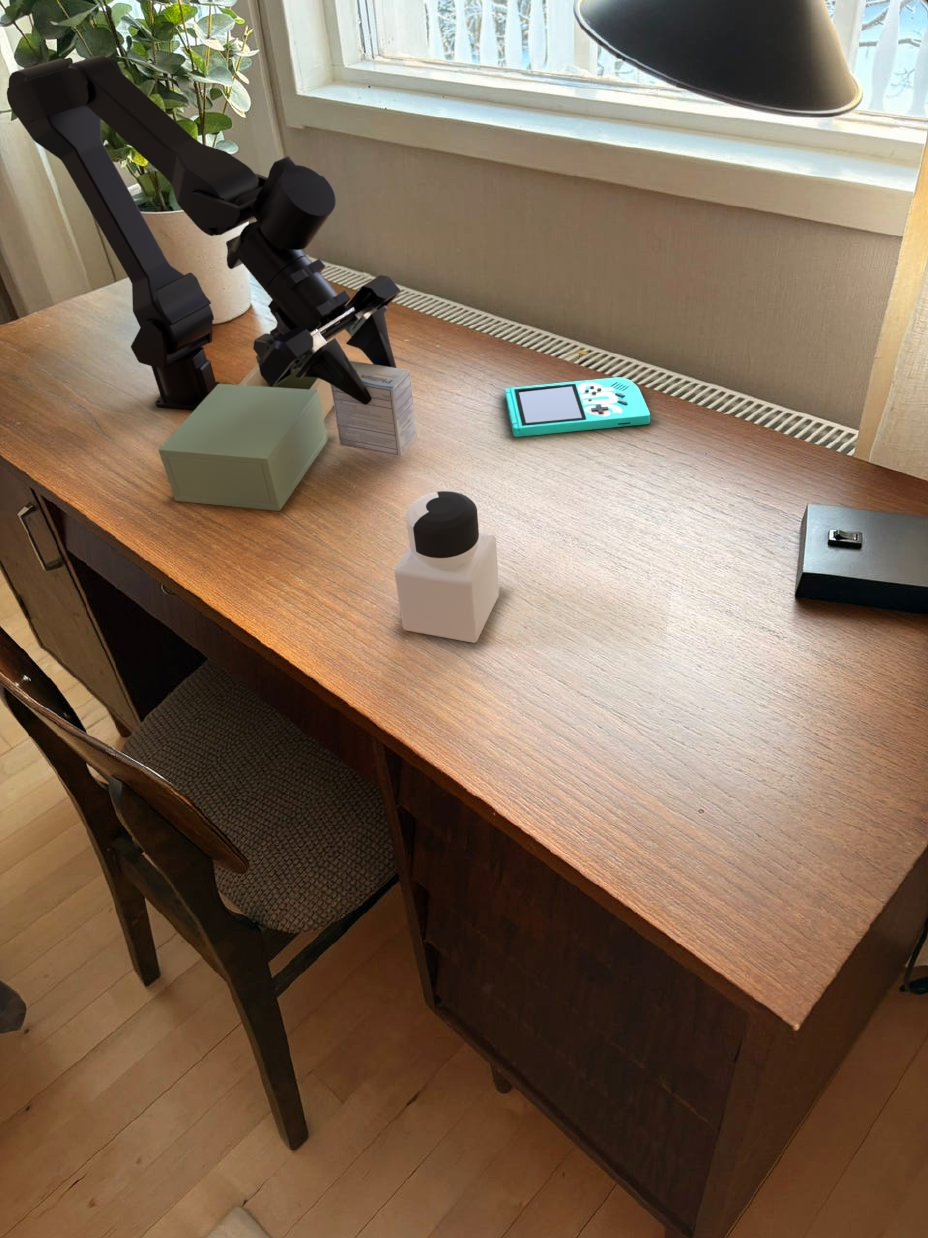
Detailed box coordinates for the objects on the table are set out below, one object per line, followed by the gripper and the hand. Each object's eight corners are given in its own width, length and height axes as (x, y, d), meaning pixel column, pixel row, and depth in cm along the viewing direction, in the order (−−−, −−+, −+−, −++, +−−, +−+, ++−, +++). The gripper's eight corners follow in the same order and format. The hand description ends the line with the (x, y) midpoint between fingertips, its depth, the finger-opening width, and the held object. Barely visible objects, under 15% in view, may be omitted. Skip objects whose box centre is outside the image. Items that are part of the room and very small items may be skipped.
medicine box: (418, 439, 107) (412, 368, 101) (401, 459, 104) (393, 387, 98) (358, 427, 110) (348, 358, 104) (339, 446, 107) (327, 376, 101)
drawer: (281, 369, 124) (274, 334, 121) (363, 374, 122) (357, 339, 118) (221, 441, 111) (211, 405, 108) (311, 448, 109) (303, 411, 106)
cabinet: (231, 432, 115) (218, 383, 110) (328, 440, 112) (318, 389, 107) (175, 500, 104) (158, 449, 100) (279, 511, 101) (266, 458, 97)
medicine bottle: (500, 594, 88) (494, 487, 80) (476, 645, 83) (467, 536, 75) (429, 582, 90) (416, 477, 82) (402, 631, 85) (385, 524, 78)
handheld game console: (650, 425, 109) (651, 414, 108) (513, 438, 109) (512, 428, 108) (633, 383, 116) (633, 373, 116) (504, 396, 116) (504, 386, 116)
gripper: (311, 285, 111) (396, 389, 114) (199, 350, 100) (296, 465, 103) (354, 226, 103) (445, 341, 105) (236, 291, 92) (342, 418, 94)
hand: (382, 392), depth 102 cm, fingers closed on medicine box, 5 cm apart
